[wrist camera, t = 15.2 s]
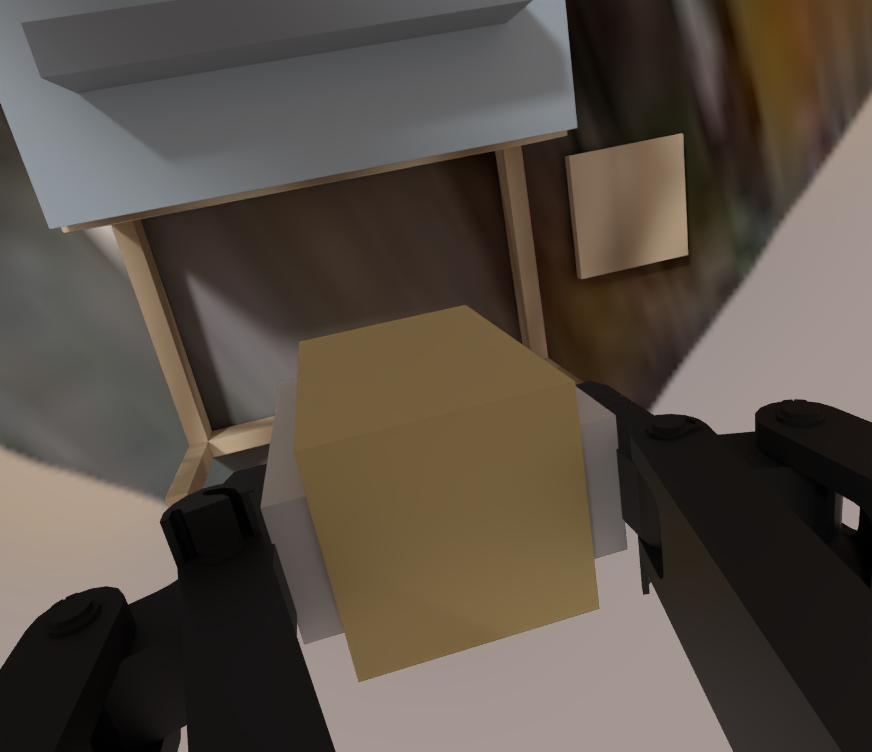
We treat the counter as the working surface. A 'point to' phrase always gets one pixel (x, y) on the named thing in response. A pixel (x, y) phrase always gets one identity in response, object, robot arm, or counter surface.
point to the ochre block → (442, 486)
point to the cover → (265, 91)
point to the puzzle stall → (135, 241)
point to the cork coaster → (628, 205)
